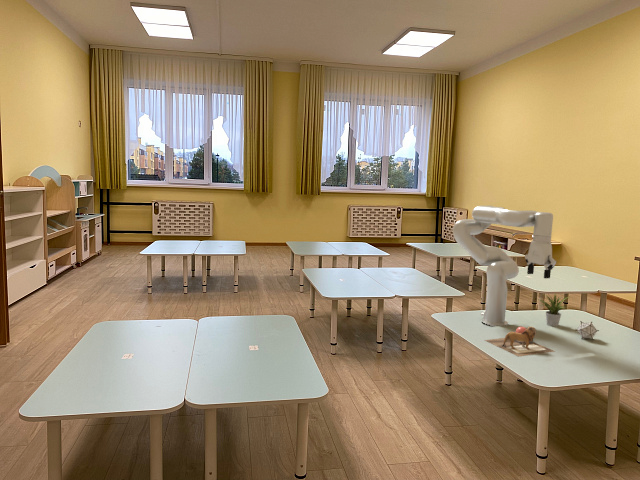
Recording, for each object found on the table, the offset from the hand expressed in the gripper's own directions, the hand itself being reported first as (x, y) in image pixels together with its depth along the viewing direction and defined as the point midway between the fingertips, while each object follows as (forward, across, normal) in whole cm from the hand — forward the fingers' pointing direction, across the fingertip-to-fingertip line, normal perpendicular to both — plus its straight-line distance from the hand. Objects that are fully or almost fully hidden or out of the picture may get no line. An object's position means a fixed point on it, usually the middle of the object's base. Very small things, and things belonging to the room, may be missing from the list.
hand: (538, 276), depth 219 cm
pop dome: (+26, +7, -14) cm, 31 cm away
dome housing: (+27, +7, -14) cm, 31 cm away
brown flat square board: (+28, +12, -20) cm, 37 cm away
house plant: (+28, -10, +24) cm, 39 cm away
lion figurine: (+27, +14, -22) cm, 38 cm away
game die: (+28, +11, +21) cm, 37 cm away
